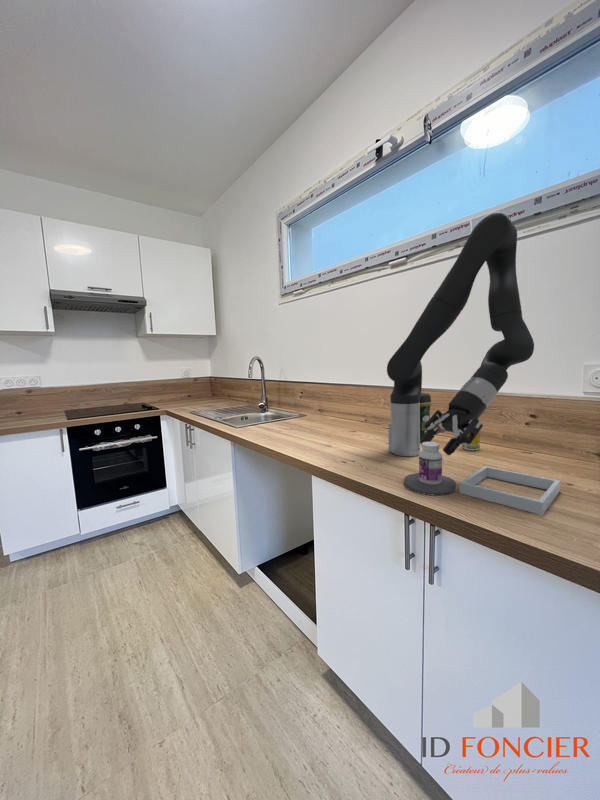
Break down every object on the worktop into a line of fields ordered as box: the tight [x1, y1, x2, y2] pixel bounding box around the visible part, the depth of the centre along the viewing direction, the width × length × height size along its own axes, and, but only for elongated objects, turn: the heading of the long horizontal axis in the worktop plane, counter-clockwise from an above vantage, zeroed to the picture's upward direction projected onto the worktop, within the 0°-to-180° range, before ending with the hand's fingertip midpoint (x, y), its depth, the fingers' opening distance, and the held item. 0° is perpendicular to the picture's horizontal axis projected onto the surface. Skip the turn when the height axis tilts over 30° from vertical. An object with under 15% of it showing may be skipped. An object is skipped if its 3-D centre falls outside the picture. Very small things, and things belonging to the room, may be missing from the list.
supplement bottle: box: [461, 430, 481, 452], centre depth 107 cm, size 5×5×10 cm
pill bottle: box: [418, 441, 443, 485], centre depth 78 cm, size 5×5×10 cm
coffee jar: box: [420, 392, 432, 440], centre depth 122 cm, size 10×8×19 cm
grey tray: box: [459, 465, 561, 516], centre depth 73 cm, size 16×16×2 cm
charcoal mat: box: [403, 472, 457, 496], centre depth 79 cm, size 12×12×1 cm
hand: (433, 448), depth 78 cm, fingers open, 8 cm apart
